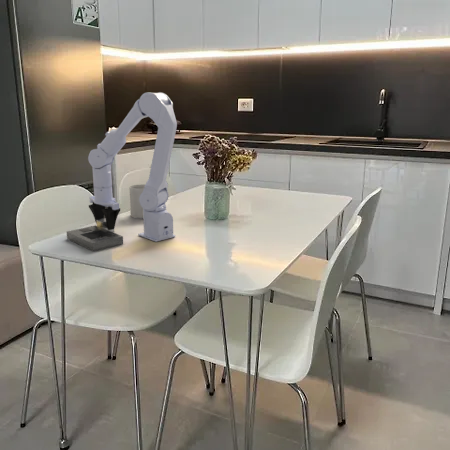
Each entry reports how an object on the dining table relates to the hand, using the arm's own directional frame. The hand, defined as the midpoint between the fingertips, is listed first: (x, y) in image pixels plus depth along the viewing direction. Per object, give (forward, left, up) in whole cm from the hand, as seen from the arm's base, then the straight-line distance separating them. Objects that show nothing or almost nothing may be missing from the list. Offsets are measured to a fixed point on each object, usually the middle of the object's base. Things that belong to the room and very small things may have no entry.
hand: (105, 227), depth 149 cm
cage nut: (0, 0, -2) cm, 2 cm away
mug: (+7, -21, -2) cm, 22 cm away
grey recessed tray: (-7, +8, -1) cm, 11 cm away
